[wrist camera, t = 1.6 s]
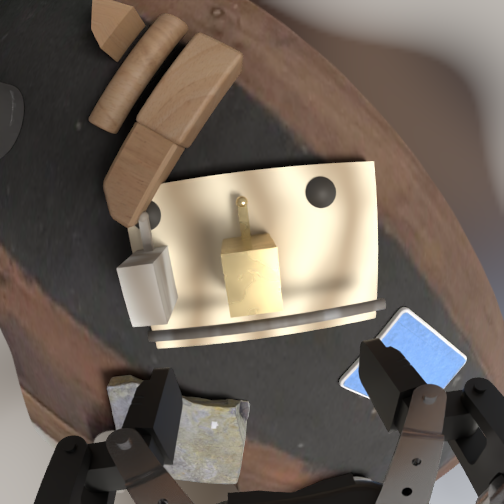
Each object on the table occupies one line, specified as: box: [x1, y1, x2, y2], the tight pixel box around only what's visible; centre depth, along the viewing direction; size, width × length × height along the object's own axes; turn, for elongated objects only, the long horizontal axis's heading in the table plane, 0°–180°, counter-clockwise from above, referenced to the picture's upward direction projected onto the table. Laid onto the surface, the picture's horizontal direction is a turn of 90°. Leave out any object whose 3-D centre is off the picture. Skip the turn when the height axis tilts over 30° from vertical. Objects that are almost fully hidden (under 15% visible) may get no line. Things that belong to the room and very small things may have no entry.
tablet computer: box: [339, 307, 467, 399], centre depth 34 cm, size 19×13×1 cm, turn 56°
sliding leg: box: [221, 196, 283, 318], centre depth 24 cm, size 4×8×5 cm, turn 7°
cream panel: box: [117, 161, 386, 348], centre depth 25 cm, size 23×16×7 cm
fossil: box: [107, 375, 250, 484], centre depth 33 cm, size 20×5×17 cm
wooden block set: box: [89, 0, 243, 228], centre depth 21 cm, size 17×6×18 cm
